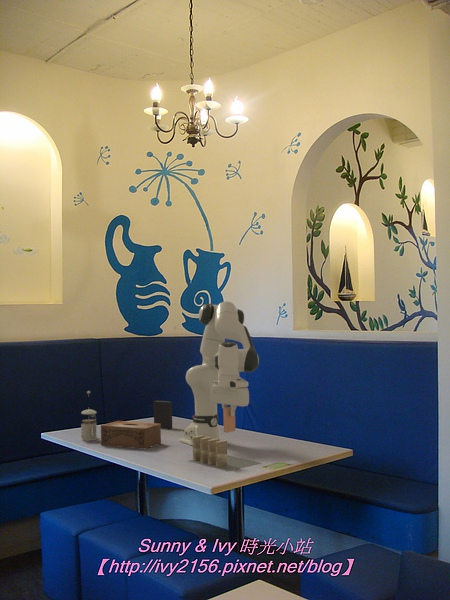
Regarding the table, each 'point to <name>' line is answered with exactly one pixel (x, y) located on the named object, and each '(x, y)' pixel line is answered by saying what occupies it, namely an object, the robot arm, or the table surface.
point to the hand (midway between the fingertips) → (229, 415)
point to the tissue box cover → (131, 434)
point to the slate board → (230, 463)
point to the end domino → (228, 420)
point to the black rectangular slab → (163, 413)
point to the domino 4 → (221, 453)
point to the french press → (88, 426)
